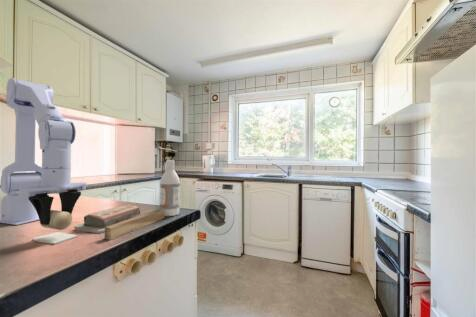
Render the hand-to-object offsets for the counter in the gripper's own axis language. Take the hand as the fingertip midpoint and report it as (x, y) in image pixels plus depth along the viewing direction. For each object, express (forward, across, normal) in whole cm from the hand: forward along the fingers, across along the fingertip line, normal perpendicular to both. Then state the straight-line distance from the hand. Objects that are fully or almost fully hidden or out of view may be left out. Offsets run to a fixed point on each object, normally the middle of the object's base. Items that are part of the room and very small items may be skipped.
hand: (55, 221), depth 57 cm
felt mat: (+4, 0, 0) cm, 4 cm away
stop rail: (+4, +15, -13) cm, 20 cm away
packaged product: (+5, +16, -2) cm, 16 cm away
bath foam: (+5, +32, -12) cm, 34 cm away
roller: (+1, +1, 0) cm, 2 cm away
